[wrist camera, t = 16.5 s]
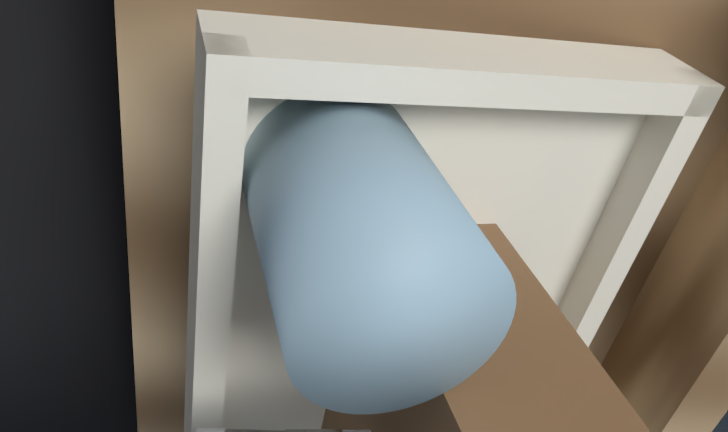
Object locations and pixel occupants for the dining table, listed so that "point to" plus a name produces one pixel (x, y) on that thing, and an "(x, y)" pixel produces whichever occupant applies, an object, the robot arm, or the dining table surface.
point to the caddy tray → (478, 136)
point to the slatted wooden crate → (463, 14)
